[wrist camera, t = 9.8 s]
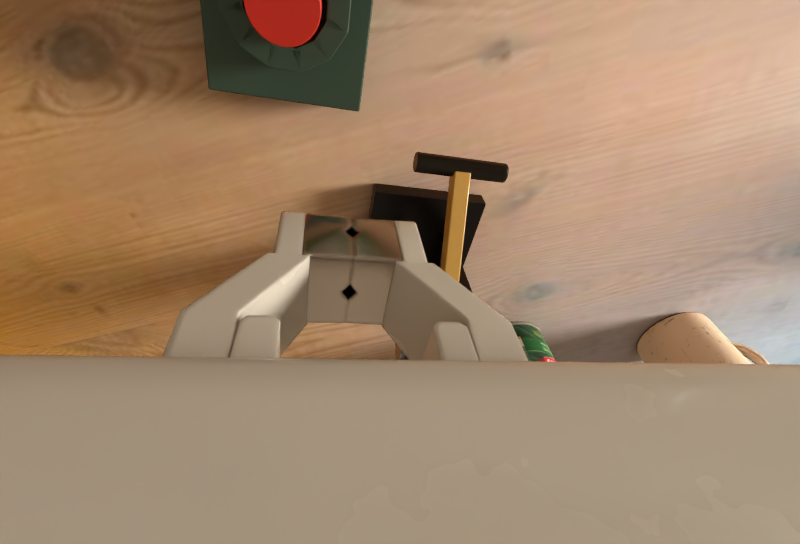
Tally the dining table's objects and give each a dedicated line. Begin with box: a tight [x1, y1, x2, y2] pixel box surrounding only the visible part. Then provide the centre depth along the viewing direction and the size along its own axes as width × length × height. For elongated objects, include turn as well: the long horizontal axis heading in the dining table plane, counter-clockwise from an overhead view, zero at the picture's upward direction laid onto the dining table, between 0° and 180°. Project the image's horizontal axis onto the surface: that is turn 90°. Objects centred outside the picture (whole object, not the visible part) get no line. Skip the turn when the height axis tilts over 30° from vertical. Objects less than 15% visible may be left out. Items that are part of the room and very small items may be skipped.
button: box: [244, 0, 322, 47], centre depth 20 cm, size 4×4×2 cm
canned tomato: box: [511, 322, 556, 362], centre depth 43 cm, size 8×8×11 cm
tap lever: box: [413, 152, 508, 282], centre depth 27 cm, size 14×6×2 cm
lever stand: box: [368, 183, 486, 360], centre depth 31 cm, size 11×9×14 cm
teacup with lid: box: [637, 313, 769, 364], centre depth 46 cm, size 12×9×12 cm
